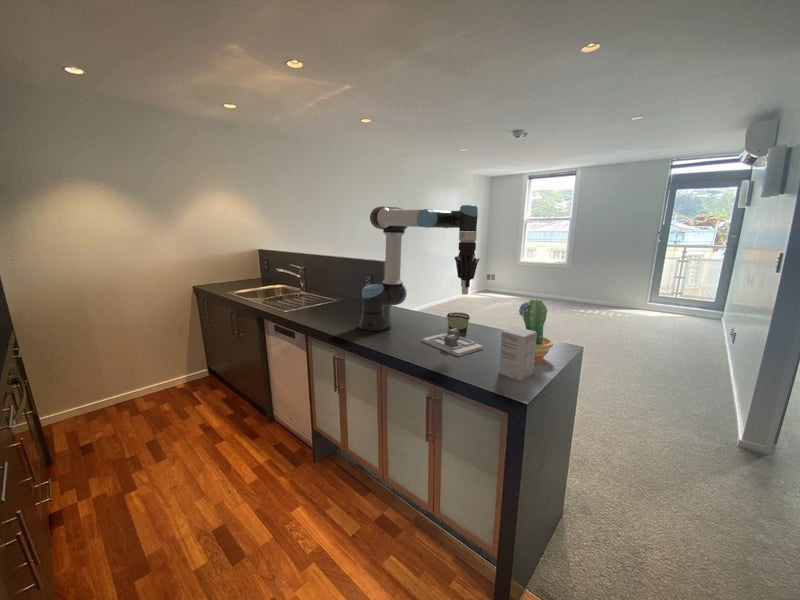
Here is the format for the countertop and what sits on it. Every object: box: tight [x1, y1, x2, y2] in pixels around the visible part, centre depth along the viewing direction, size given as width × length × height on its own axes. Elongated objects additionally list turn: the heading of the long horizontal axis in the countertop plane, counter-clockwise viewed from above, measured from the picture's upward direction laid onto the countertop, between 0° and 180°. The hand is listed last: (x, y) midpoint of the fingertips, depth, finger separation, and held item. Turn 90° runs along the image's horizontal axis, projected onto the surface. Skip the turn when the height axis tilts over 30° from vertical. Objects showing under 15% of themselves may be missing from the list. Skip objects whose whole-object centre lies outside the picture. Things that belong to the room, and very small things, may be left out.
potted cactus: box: [518, 298, 554, 363], centre depth 139 cm, size 15×15×25 cm
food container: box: [446, 311, 471, 335], centre depth 176 cm, size 12×6×10 cm, turn 65°
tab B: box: [446, 328, 460, 339], centre depth 161 cm, size 4×4×5 cm
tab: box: [444, 335, 457, 347], centre depth 151 cm, size 4×4×5 cm
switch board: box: [422, 332, 484, 357], centre depth 156 cm, size 24×16×2 cm, turn 36°
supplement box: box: [498, 326, 537, 382], centre depth 124 cm, size 10×9×17 cm
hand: (464, 294), depth 152 cm, fingers closed
